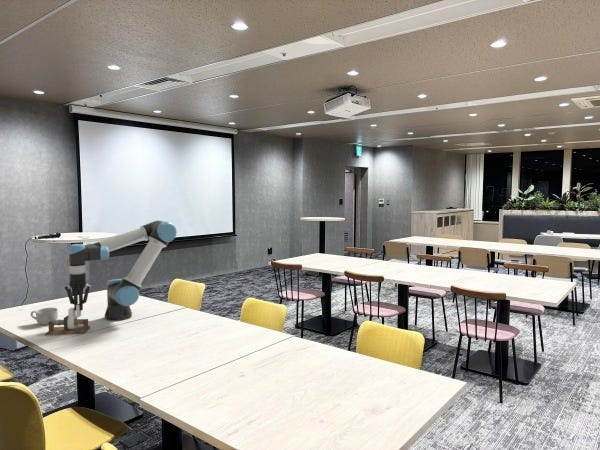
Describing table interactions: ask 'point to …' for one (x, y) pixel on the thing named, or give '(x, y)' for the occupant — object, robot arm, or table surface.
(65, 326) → the charcoal slab
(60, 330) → the pipe rig
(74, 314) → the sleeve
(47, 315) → the teacup
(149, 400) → the table surface
